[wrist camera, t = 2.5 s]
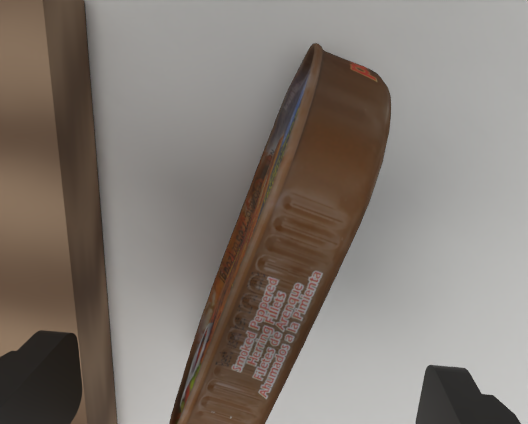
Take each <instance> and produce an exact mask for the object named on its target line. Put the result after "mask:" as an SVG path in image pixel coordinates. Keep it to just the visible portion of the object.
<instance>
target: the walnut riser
mask: <svg viewBox="0 0 528 424" xmlns="http://www.w3.org/2000/svg"><path fill="white" fill-rule="evenodd" d="M40 330H45V331H57V332H68V333H74V334H75V335H76V337H77V340H78V348H79V358H80V368H81V378H82V398H81V403H80V406H79V409H78V411H77V413H76V416H75V417H74V419H73V420H72V422H71V423H70V424H117V414H116V401H115V388H114V376H113V363H112V350H111V337H110V325H109V312H108V299H107V286H106V274H105V261H104V248H103V235H102V223H101V210H100V197H99V184H98V172H97V159H96V146H95V133H94V121H93V108H92V95H91V82H90V69H89V57H88V44H87V31H86V18H85V6H84V1H83V0H0V357H1V356H3V355H5V354H6V353H8V352H10V351H17V350H18V349H19V348H20V347H21V346H22V345H23V344H24V343H25V342H26V341H28V340H29V339H30V338H31V337H32V336H33V335H34V334H35V333H36V332H38V331H40Z"/></svg>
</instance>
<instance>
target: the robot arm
mask: <svg viewBox="0 0 528 424" xmlns="http://www.w3.org/2000/svg"><path fill="white" fill-rule="evenodd" d="M81 398H82V378H81V368H80V358H79V348H78V340H77V337H76V335H75V334H74V333H68V332H57V331H45V330H40V331H38V332H36V333H35V334H34V335H33V336H32V337H31V338H30V339H29V340H28V341H26V342H25V343H24V344H23V345H22V346H21V347H20V348H19V349H18V350H17V351H10V352H8V353H6V354H5V355H3V356H1V357H0V424H70V423H71V422H72V420H73V419H74V417H75V416H76V413H77V411H78V409H79V406H80V403H81ZM416 424H521V423H520V422H519V420H518V418H517V417H516V415H515V414H514V413H513V412H511V411H510V410H509V409H508V408H507V407H506V406H505V405H504V404H502V403H501V402H500V401H499V400H498V399H497V398H496V397H494V396H493V395H485V394H481V392H480V390H479V389H478V387H477V385H476V383H475V382H474V380H473V378H472V376H471V375H470V373H469V372H468V370H467V369H465V368H458V367H447V366H435V365H429V366H428V367H427V369H426V371H425V376H424V381H423V386H422V391H421V397H420V402H419V407H418V412H417V418H416Z"/></svg>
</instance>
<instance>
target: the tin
mask: <svg viewBox="0 0 528 424" xmlns="http://www.w3.org/2000/svg"><path fill="white" fill-rule="evenodd" d="M390 118H391V97H390V93H389V90H388V88H387V86H386V84H385V83H384V82H383V80H382V79H381V77H380V76H379V75H378V74H377V73H375V72H374V71H372V70H370V69H368V68H366V67H364V66H361V65H358V64H356V63H353V62H350V61H348V60H345V59H343V58H340V57H338V56H335V55H333V54H330V53H328V52H326V51H324V50H323V49H322V47H321V46H320V45H319V44H317V43H314V44H312V46H311V47H310V49H309V50H308V52H307V54H306V55H305V57H304V59H303V61H302V64H301V65H300V67H299V69H298V71H297V73H296V75H295V77H294V79H293V81H292V83H291V85H290V87H289V89H288V91H287V93H286V96H285V98H284V101H283V103H282V106H281V108H280V111H279V113H278V115H277V118H276V121H275V124H274V127H273V129H272V131H271V134H270V136H269V139H268V141H267V144H266V146H265V149H264V152H263V154H262V157H261V159H260V163H259V165H258V167H257V170H256V172H255V175H254V178H253V181H252V183H251V186H250V189H249V191H248V194H247V196H246V199H245V202H244V204H243V207H242V209H241V212H240V215H239V218H238V220H237V223H236V225H235V228H234V231H233V233H232V236H231V238H230V241H229V244H228V246H227V249H226V251H225V254H224V256H223V259H222V262H221V265H220V267H219V270H218V273H217V275H216V278H215V281H214V283H213V286H212V288H211V292H210V295H209V298H208V301H207V303H206V306H205V309H204V311H203V314H202V317H201V320H200V323H199V326H198V329H197V332H196V335H195V339H194V342H193V345H192V348H191V351H190V355H189V358H188V361H187V364H186V367H185V371H184V374H183V378H182V382H181V385H180V388H179V391H178V394H177V397H176V400H175V404H174V408H173V411H172V414H171V419H170V424H265V422H266V420H267V418H268V416H269V414H270V412H271V410H272V408H273V406H274V404H275V402H276V400H277V398H278V396H279V394H280V392H281V390H282V388H283V386H284V384H285V382H286V380H287V378H288V376H289V374H290V371H291V369H292V367H293V365H294V363H295V361H296V359H297V357H298V355H299V353H300V351H301V349H302V347H303V345H304V343H305V341H306V338H307V336H308V334H309V332H310V330H311V328H312V326H313V324H314V322H315V320H316V318H317V315H318V313H319V311H320V309H321V307H322V305H323V303H324V301H325V298H326V296H327V294H328V292H329V290H330V288H331V285H332V283H333V281H334V279H335V277H336V275H337V273H338V271H339V268H340V266H341V264H342V262H343V260H344V258H345V256H346V254H347V251H348V249H349V247H350V245H351V243H352V241H353V239H354V236H355V234H356V232H357V230H358V228H359V226H360V223H361V221H362V218H363V216H364V213H365V211H366V209H367V206H368V204H369V201H370V198H371V195H372V192H373V190H374V187H375V184H376V181H377V177H378V174H379V171H380V168H381V165H382V162H383V157H384V153H385V148H386V143H387V139H388V134H389V128H390Z"/></svg>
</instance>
